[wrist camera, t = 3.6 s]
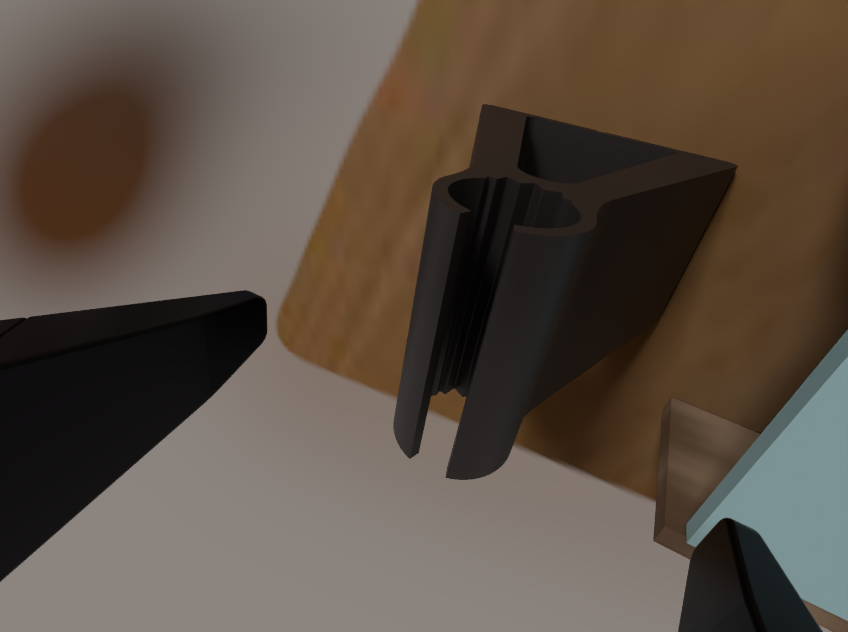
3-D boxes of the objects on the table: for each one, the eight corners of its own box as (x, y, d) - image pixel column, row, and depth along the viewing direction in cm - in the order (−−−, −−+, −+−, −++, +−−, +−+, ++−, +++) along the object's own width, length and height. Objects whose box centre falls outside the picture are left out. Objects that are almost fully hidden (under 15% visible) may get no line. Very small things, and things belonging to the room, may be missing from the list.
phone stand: (456, 242, 21) (271, 386, 12) (486, 102, 18) (264, 146, 9) (659, 314, 19) (627, 575, 9) (738, 164, 15) (815, 329, 6)
